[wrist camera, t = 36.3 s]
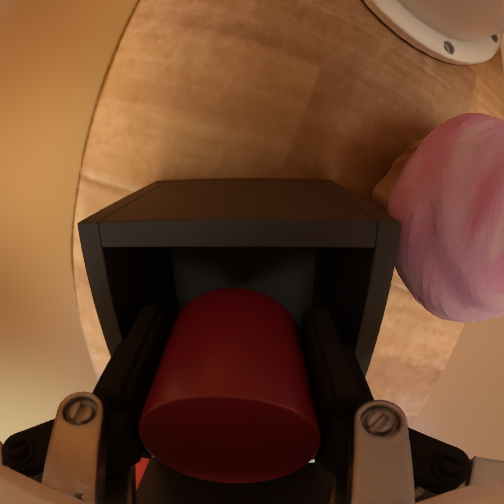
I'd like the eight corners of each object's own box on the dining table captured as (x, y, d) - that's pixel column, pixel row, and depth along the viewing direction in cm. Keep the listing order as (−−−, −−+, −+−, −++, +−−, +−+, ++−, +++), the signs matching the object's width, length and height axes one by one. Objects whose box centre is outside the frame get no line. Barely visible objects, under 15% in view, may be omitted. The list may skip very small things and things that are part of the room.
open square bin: (156, 180, 15) (76, 223, 8) (332, 180, 15) (402, 222, 8) (179, 359, 20) (153, 454, 12) (312, 360, 20) (333, 457, 12)
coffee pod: (164, 285, 9) (113, 385, 5) (304, 286, 9) (339, 392, 5) (181, 382, 11) (159, 477, 7) (293, 384, 11) (307, 481, 7)
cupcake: (401, 88, 13) (532, 65, 4) (481, 182, 15) (593, 229, 6) (314, 206, 16) (390, 300, 7) (410, 283, 18) (493, 383, 8)
